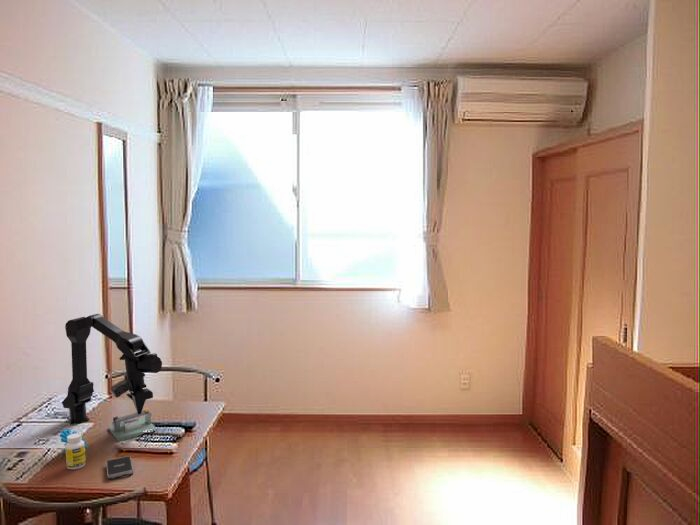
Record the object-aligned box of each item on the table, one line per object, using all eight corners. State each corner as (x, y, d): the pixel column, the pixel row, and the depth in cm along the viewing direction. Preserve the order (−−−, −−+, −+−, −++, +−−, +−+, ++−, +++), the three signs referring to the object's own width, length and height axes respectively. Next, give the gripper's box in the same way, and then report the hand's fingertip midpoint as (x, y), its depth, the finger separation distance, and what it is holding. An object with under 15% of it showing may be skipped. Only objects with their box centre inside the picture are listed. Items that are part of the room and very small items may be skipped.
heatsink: (121, 426, 199) (120, 419, 199) (135, 422, 202) (135, 415, 202) (125, 431, 194) (125, 423, 194) (140, 427, 197) (139, 420, 197)
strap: (117, 422, 194) (117, 418, 194) (116, 420, 196) (115, 416, 196) (149, 413, 200) (148, 409, 200) (147, 411, 202) (146, 407, 202)
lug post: (145, 425, 203) (144, 410, 202) (148, 424, 203) (147, 409, 203) (148, 428, 199) (147, 413, 199) (152, 427, 200) (151, 412, 199)
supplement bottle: (73, 471, 168) (70, 440, 167) (63, 467, 170) (60, 437, 169) (89, 464, 172) (87, 434, 171) (79, 460, 175) (77, 430, 174)
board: (108, 428, 200) (108, 425, 200) (145, 419, 208) (144, 416, 208) (118, 441, 189) (118, 437, 189) (156, 431, 197) (156, 427, 196)
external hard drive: (108, 482, 161) (107, 475, 161) (106, 466, 171) (106, 460, 171) (133, 476, 164) (132, 470, 164) (130, 461, 174) (130, 455, 174)
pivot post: (112, 432, 196) (111, 417, 196) (118, 431, 198) (117, 416, 197) (115, 436, 193) (114, 421, 192) (121, 434, 194) (120, 419, 194)
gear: (79, 453, 176) (57, 432, 176) (66, 467, 176) (44, 446, 176) (95, 443, 187) (74, 423, 187) (83, 456, 187) (61, 436, 187)
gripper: (104, 371, 200) (109, 412, 202) (117, 382, 185) (123, 427, 187) (136, 364, 207) (140, 404, 209) (151, 374, 192) (155, 417, 194)
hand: (139, 413), depth 199 cm, fingers closed, pressing on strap
